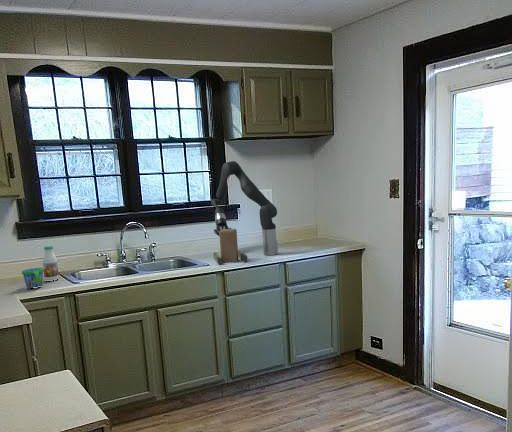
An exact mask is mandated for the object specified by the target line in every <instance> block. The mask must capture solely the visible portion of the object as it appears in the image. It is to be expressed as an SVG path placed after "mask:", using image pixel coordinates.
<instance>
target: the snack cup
mask: <svg viewBox="0 0 512 432" xmlns="http://www.w3.org/2000/svg"><path fill="white" fill-rule="evenodd" d="M21 274H22V276H23V278H24V279H23V280H24V282H25V287H26V289H27V288H33V287H38V286H41V285H42V286H43V282H44V281H43V279H44V269H43V267H35V268H34V267H33V268H28V269H24V270H21Z"/></svg>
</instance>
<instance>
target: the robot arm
mask: <svg viewBox="0 0 512 432" xmlns="http://www.w3.org/2000/svg"><path fill="white" fill-rule="evenodd" d="M220 172H221V173H220V178H219V179H220V180H219V185H218V187H217V191H216V192H215V196H216V198H212V199H211V200H210V202H211V205H212V206H216V210H215V213H214V218H215V220H214V221H215V227H216V228H214V229H213V233H214V234H215V235H216V236H218V237H219V238H220V236H219V232H220V231H221V230H222V229H232V227H229V226H228V223H227V217H226V215H225V210H224V208H223V209H222V208H220V207H218V206H217V205H226V196H227V193H228V191H229V190H228V189H229V185H228V179H229V178H230V176H233V175H234V176H235V177H236V178H237V179H238V180H239V184H240V185H239V186H240V189H241V191H242V193H244V194H245V196H246V197H247V198H248V199H250V200H251V201H253V202H254V203H256V204H257V205H258V206H259V207H260V209H259V221H260V222H259V223H260V226H261V231H262V232H261V233H262V247H263V248H262V250H263V251H262V253H263V256H275V255H278V254H279V247H278V239H277V226H276V224H275V223H274V222H273V219H274V218H276V217H277V216H278V215H277V214H278V209H277V207H276V206H275V204H273V203H272V202H271V201H270V200H269V199H268V198H266V196H265V195H264V194H263V193H262V191H260V189H259V188H258V186H256V183H254V182H253V181H252V180H251V179H250V178H249V177H248V175H247V174H246V173H245V172H244V170H243V168H242V167H241V166H240V164H239V163H238V162H237V161H233V160H232V161H227V162H224V163H223V165H222V167H221V171H220ZM219 199H221V200H219ZM211 205H210V206H211Z"/></svg>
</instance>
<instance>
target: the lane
mask: <svg viewBox="0 0 512 432" xmlns="http://www.w3.org/2000/svg"><path fill="white" fill-rule="evenodd" d="M213 259H214V261H215V262H216V263H217V265H218V266H223V262H222V259H221V255H219V254H218V252H215V251H214V252H213ZM238 259H240V260H241V261H242V262H243V263H244V264H246V263H248V256H247V255H246V254H245V252H243V251H242V250H241V249H238Z"/></svg>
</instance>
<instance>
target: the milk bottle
mask: <svg viewBox="0 0 512 432" xmlns="http://www.w3.org/2000/svg"><path fill="white" fill-rule="evenodd" d="M43 249H44V255H43V259H42V268H43V269H44V271H43V279H44V281H45V280H54V279H58V278H59V279H60V275H59V274H60V273H59V264H58V259H57V256H56V255H55V252H54V246H53V245H46V246H44V247H43Z"/></svg>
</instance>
